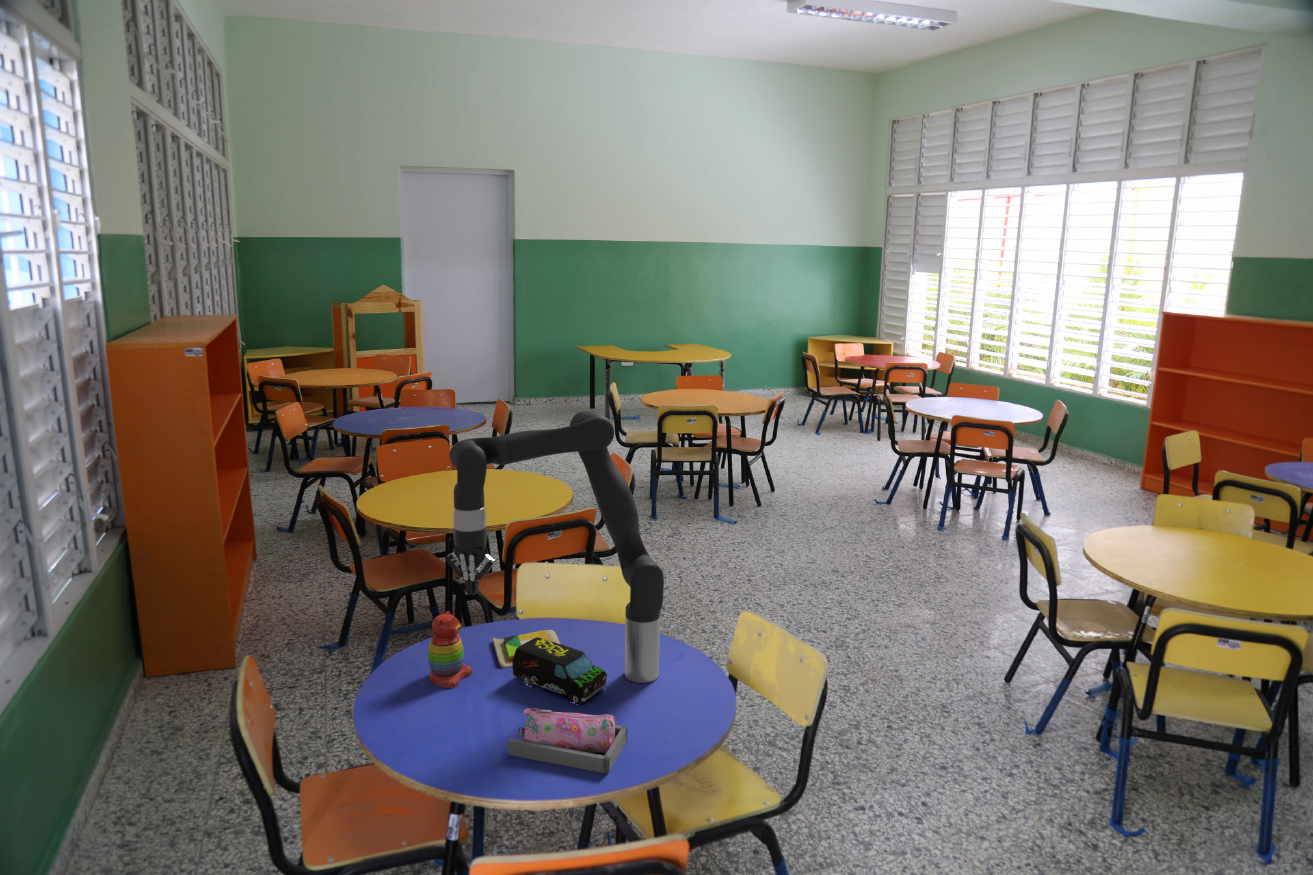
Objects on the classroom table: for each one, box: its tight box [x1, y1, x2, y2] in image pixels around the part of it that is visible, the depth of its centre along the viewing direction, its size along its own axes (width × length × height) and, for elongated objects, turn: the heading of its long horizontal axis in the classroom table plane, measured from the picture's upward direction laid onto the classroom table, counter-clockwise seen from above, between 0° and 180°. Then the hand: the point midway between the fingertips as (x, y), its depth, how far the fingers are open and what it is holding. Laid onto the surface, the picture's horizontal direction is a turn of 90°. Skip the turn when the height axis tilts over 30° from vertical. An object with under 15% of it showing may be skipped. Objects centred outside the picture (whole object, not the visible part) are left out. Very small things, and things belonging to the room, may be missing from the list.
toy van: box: [511, 637, 608, 706], centre depth 223 cm, size 11×25×10 cm, turn 57°
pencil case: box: [517, 707, 617, 755], centre depth 195 cm, size 21×9×9 cm, turn 81°
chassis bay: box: [507, 724, 628, 775], centre depth 196 cm, size 14×24×4 cm, turn 74°
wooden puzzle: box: [492, 629, 561, 669], centre depth 243 cm, size 18×19×4 cm
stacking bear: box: [427, 610, 473, 689], centre depth 225 cm, size 11×10×18 cm
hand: (472, 593), depth 204 cm, fingers closed
